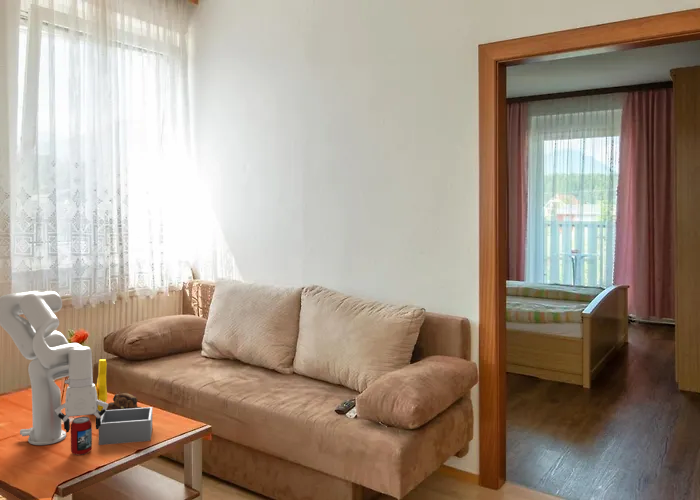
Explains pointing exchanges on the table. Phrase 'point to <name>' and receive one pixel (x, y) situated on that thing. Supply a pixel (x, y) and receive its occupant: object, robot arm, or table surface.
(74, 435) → the beverage can
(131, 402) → the wooden carving
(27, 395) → the table surface
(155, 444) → the table surface
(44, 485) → the table surface
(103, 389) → the figure statuette
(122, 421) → the gray open storage box
